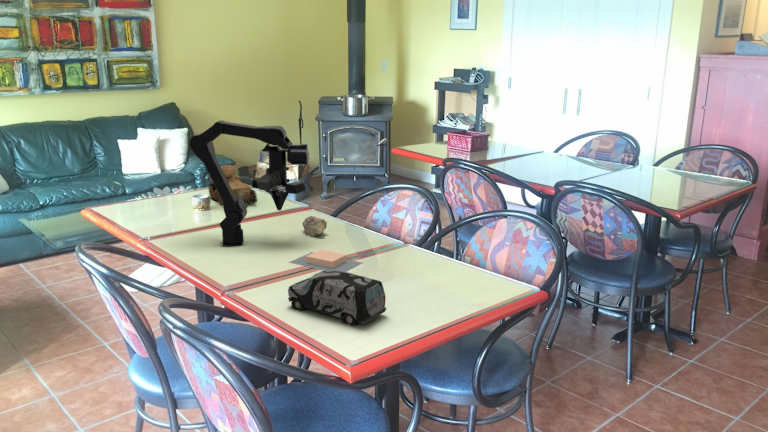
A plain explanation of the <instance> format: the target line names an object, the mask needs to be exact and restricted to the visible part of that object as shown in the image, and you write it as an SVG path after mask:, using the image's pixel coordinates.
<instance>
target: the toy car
mask: <svg viewBox="0 0 768 432" xmlns="http://www.w3.org/2000/svg"><path fill="white" fill-rule="evenodd" d="M287 294H288V302H291V308H292V309H293V310H295V311H298V312H303V311H305V309H311V310H313V311H317V312H320V313H324V314H326V315H327V314H328V315H330V316H334V317H337V318H340V319H341V322H342V324H345V325H348V326H352V327H353V326H356V325H357V324H358V323H360V324H362V325H365V324H367V323H369V322H371V321H372V320H374V319H376V318H377V317H379V316H381V315H382V314H384V313H385V312H386V310H387V307H386V292H385V289H384V286H383V283H382V281H380V280H378V279H373V278H369V277H367V276H362V275H359V274H355V273H350V272H348V271H347V272H343V271H338V270H334V269H327V270H320V271H319V272H317V273H315V274H313V275H312V276H310V277H307V278H305V279H302V280H301V281H297V282H295V283H293V284H292V285H290V286H288V289H287Z"/></svg>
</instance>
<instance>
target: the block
mask: <svg viewBox="0 0 768 432" xmlns="http://www.w3.org/2000/svg"><path fill="white" fill-rule="evenodd" d="M347 260H348V254H347V253H346V254H345V253H341V252H336V251H331V250H327V249H322V248H321V249H319V250H317V251H315V252H313V253H312V254H310V255H307V256H306V263H307V264H311V265H316V266H320V267H325V268H330V269H333V268H335V267H337V266H339V265H341V264H343V263H345V262H347Z"/></svg>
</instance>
